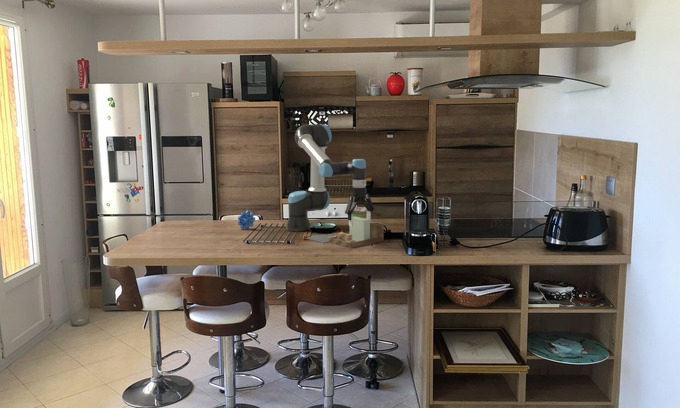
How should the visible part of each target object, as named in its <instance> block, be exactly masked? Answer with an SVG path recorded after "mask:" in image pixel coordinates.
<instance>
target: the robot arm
mask: <svg viewBox="0 0 680 408" xmlns="http://www.w3.org/2000/svg"><path fill="white" fill-rule="evenodd" d="M332 136H333V135H332V130H331V128H330V127H329V126H328V125H327V124H322V123H320V124H319V123H317V124H315V123H313V124H302V125H301V126H299V127H298V128H297V129H296V131H295V133H294V139H295V143H296V144H297V146H298V147H299V148H301V149H303V150H304V151H305V153H307V154H308V156H309V157H310V186H309V188H308V189H307V190H297V191H293V192H291V193H289V195H288V199H287V203H288V219H287V223H286V227H285V229H286V231H288V232H297V233H298V232H308V231H310V230H311V229H310V228H311V223H310V221H309V218H308V212H316V211H322V210H326V209H328V208H329V206H330V202H331V196H330V193H329V192H328V191H327V188H326V187H325V178H331V177H340V176H341V177H342V176H352V194H353V195H352V196H349V197H348V201H347V205H346V207H345V210H344V214H346V215H347V220H348V226H349V227H350V226H353V215H352V213H353V211H354V209H355V207H358V205H361V204H362V205H363V207H366V209H367V210H368V211H367V219H370V223H372V212H373V211H374V210H375V207H374V204H373V202H372V200H371V195H370V194H369V193H367V187H366V186H367V161H366V160H365V159H364V158H355V159H352V161H349V160H348V161H346V160H345V161H342V162H341V161H340V162H333V161H332V160H331V158H329V156H328V155H327V154H326V149H327V148H328V144H330V143H331V141H332Z"/></svg>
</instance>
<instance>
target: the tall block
mask: <svg viewBox="0 0 680 408" xmlns="http://www.w3.org/2000/svg"><path fill="white" fill-rule="evenodd" d="M349 234H352V240H355V242H357V241H362V240H366V239H371V238H370V219H365V218H360V217H353V226H349Z"/></svg>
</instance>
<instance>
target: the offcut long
mask: <svg viewBox="0 0 680 408" xmlns="http://www.w3.org/2000/svg"><path fill="white" fill-rule="evenodd" d="M337 239H338V238H337ZM338 240H341V241H345V242H349V243H352V242H356V241H355V240H349V241H347V240H342V239H338Z"/></svg>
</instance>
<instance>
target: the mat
mask: <svg viewBox="0 0 680 408" xmlns="http://www.w3.org/2000/svg"><path fill="white" fill-rule="evenodd" d="M332 237H333V236H328V235H325V234H320V235H314V236H310V237H306V238H305V239H306V240H310V241H314V242H317V243H321V244H327V243H330V242H329V238H332Z"/></svg>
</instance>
